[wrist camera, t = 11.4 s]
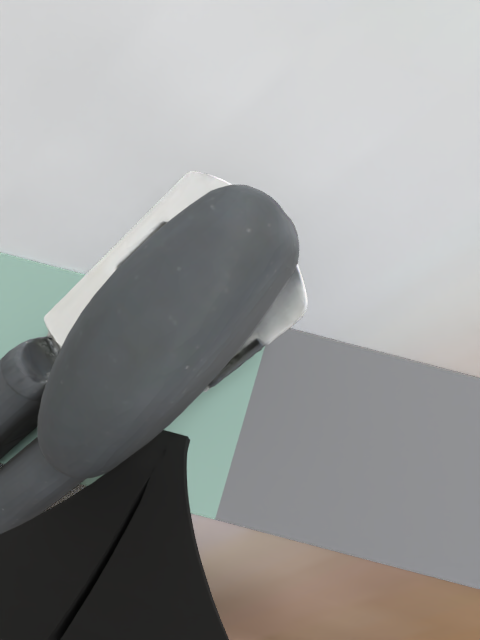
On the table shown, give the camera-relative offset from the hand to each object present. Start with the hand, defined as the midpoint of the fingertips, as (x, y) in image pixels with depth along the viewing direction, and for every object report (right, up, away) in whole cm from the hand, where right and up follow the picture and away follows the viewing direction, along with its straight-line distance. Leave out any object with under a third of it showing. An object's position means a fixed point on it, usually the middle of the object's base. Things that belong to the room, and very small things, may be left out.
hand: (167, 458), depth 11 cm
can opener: (-3, +1, +2) cm, 4 cm away
